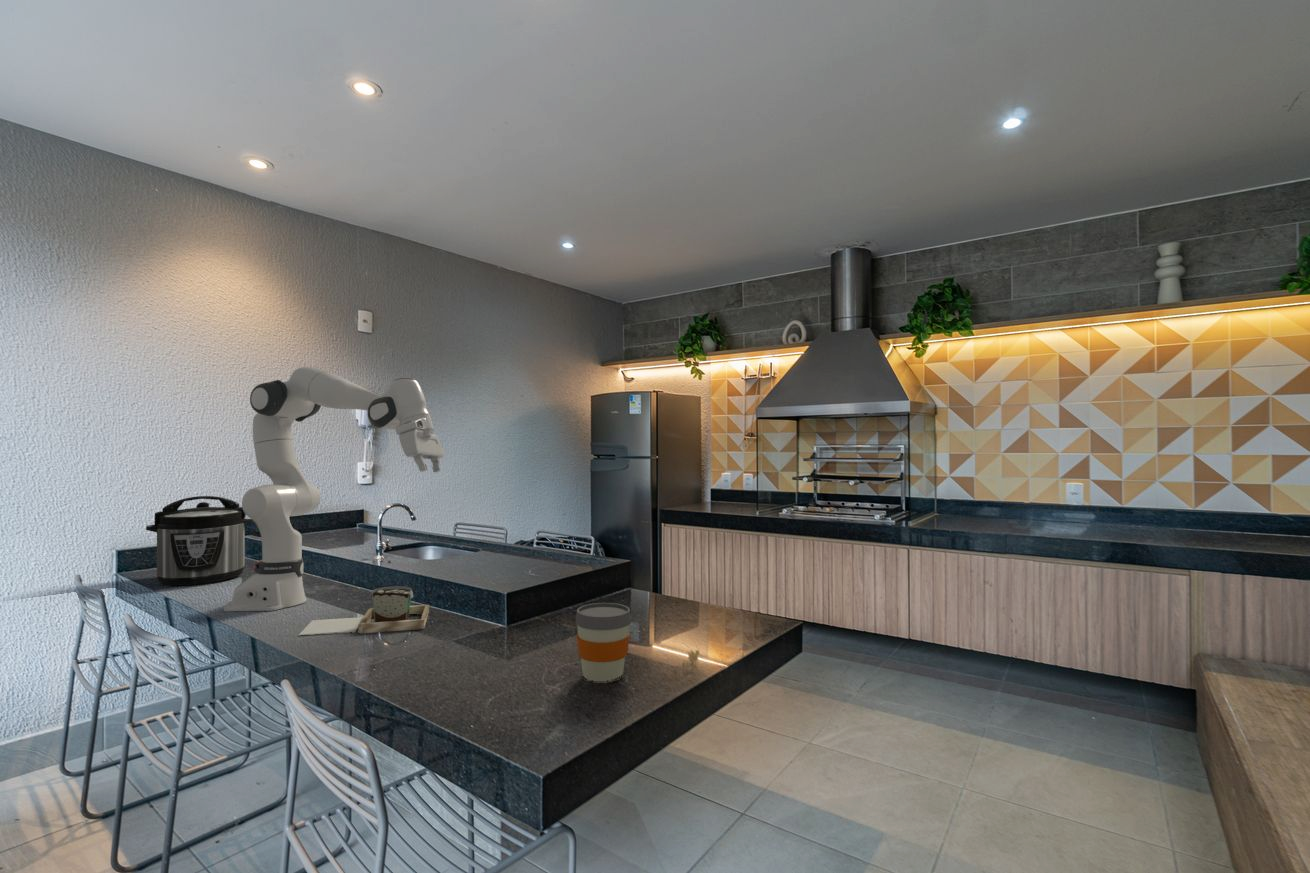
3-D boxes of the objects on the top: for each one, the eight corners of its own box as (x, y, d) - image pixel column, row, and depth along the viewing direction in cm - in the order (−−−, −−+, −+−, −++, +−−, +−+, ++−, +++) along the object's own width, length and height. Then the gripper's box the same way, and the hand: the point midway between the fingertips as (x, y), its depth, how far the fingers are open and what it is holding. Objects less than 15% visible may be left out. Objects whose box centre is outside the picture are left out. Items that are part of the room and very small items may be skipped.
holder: (358, 633, 167) (358, 624, 167) (369, 616, 183) (369, 608, 183) (424, 628, 171) (424, 620, 171) (429, 612, 188) (429, 604, 188)
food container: (420, 620, 180) (421, 586, 180) (410, 626, 173) (411, 591, 174) (381, 619, 181) (382, 585, 181) (369, 625, 175) (370, 590, 175)
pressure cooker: (129, 588, 217) (131, 499, 217) (188, 571, 245) (189, 493, 245) (214, 588, 217) (216, 499, 218) (263, 571, 246) (264, 493, 246)
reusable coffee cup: (584, 690, 129) (585, 620, 129) (568, 670, 141) (569, 605, 141) (638, 681, 134) (639, 613, 134) (619, 663, 146) (619, 600, 146)
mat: (298, 636, 164) (298, 634, 164) (312, 621, 177) (312, 620, 177) (355, 632, 168) (355, 630, 168) (364, 618, 181) (364, 616, 181)
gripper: (423, 434, 194) (435, 475, 193) (391, 428, 174) (405, 474, 172) (441, 428, 194) (454, 469, 193) (412, 421, 174) (426, 466, 172)
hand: (430, 471), depth 182 cm, fingers open, 8 cm apart
